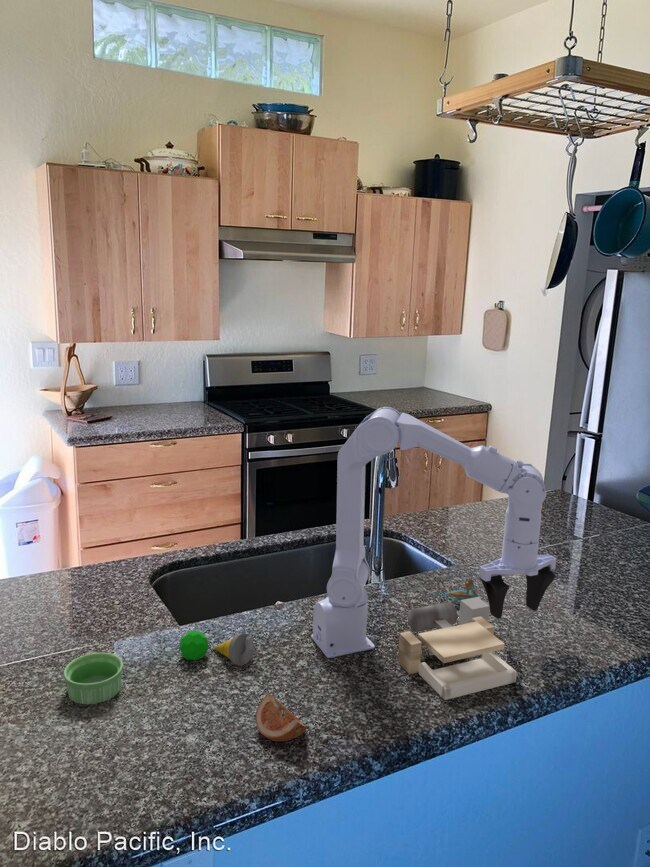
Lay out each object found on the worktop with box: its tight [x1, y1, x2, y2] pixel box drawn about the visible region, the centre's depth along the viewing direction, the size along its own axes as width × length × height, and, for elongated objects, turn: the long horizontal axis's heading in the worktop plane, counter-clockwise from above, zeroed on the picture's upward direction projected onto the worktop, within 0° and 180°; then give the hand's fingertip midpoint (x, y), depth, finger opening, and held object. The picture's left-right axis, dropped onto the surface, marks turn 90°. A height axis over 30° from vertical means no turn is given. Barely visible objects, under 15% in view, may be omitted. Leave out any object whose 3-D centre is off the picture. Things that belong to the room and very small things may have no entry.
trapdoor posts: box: [397, 616, 495, 675], centre depth 121 cm, size 4×17×6 cm, turn 113°
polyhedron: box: [178, 630, 209, 661], centre depth 120 cm, size 5×5×5 cm
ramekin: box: [63, 652, 124, 705], centre depth 109 cm, size 9×9×4 cm
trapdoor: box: [407, 601, 506, 664], centre depth 120 cm, size 15×12×4 cm
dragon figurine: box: [430, 578, 479, 602], centre depth 143 cm, size 6×7×8 cm
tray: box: [418, 651, 518, 701], centre depth 116 cm, size 14×8×2 cm, turn 113°
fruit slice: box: [255, 692, 308, 742], centre depth 100 cm, size 8×7×5 cm
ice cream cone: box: [213, 632, 257, 667], centre depth 120 cm, size 5×5×10 cm
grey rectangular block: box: [458, 596, 490, 625], centre depth 133 cm, size 4×4×5 cm
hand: (513, 612), depth 118 cm, fingers open, 7 cm apart
